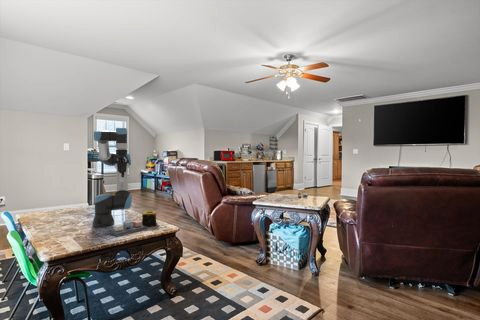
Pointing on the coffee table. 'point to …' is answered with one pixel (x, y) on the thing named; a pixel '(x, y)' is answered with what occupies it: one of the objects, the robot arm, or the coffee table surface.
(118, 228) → the key ivory
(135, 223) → the key coral
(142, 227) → the keypad base
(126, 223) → the key slate
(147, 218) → the candle
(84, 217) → the coffee table surface
